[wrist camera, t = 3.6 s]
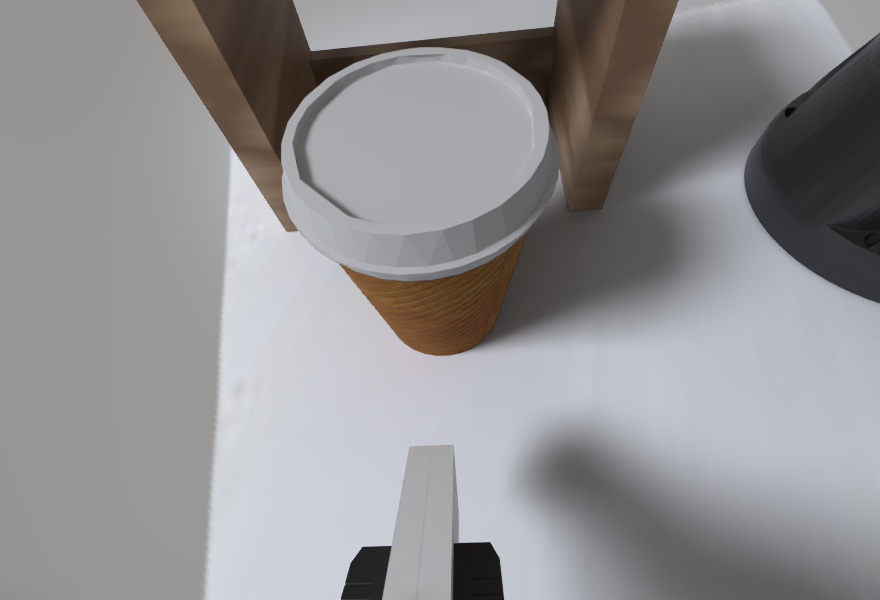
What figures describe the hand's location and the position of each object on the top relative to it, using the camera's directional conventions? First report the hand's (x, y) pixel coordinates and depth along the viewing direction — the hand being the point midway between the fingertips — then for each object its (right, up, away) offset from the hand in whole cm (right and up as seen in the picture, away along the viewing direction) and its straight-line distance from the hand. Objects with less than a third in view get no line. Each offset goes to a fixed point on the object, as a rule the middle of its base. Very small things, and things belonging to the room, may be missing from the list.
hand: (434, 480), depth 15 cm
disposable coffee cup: (0, +6, +10) cm, 11 cm away
